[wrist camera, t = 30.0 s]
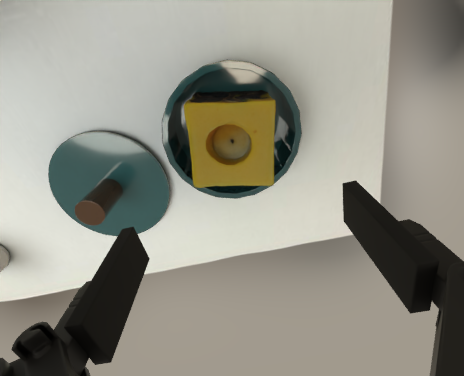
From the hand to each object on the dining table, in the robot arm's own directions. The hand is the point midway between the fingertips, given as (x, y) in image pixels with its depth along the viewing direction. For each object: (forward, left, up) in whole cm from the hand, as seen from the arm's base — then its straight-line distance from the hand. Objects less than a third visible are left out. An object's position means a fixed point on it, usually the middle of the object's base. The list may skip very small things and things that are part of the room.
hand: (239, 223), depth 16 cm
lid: (-21, -5, -24) cm, 32 cm away
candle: (0, 0, -24) cm, 24 cm away
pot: (0, 0, -25) cm, 25 cm away
